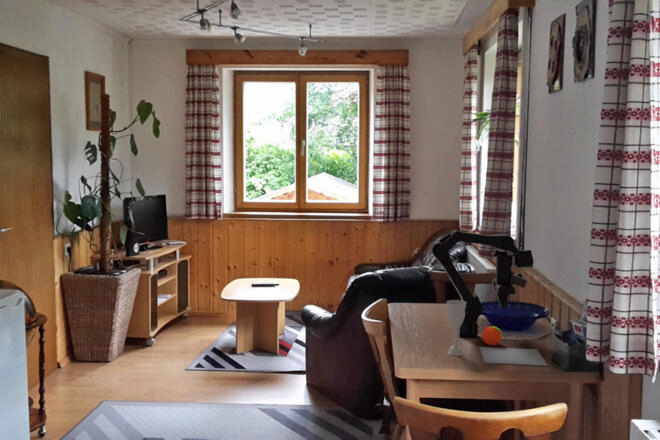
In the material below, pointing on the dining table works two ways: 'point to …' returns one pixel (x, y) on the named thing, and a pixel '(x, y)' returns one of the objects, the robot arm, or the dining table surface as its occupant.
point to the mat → (512, 356)
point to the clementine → (492, 335)
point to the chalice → (456, 322)
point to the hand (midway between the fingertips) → (502, 308)
